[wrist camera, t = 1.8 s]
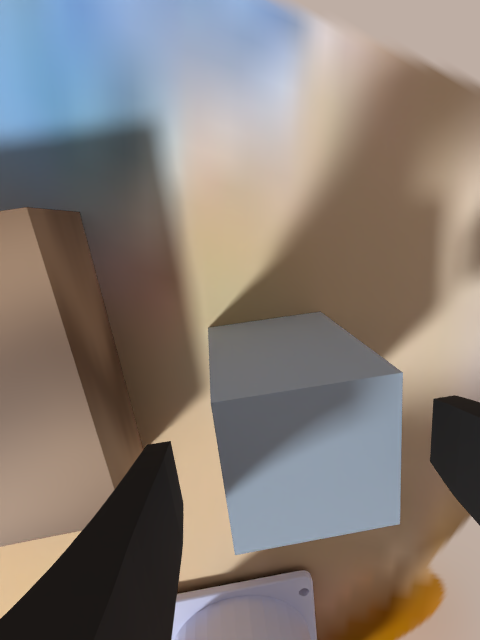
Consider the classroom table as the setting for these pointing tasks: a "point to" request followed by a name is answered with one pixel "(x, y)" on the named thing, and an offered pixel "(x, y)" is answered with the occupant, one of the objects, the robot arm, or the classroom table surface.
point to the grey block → (304, 431)
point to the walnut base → (56, 381)
